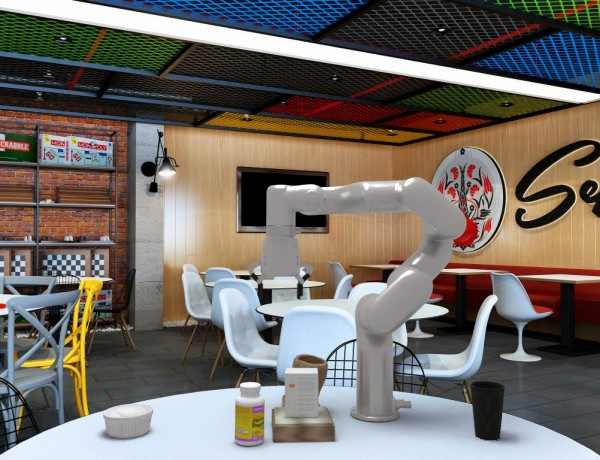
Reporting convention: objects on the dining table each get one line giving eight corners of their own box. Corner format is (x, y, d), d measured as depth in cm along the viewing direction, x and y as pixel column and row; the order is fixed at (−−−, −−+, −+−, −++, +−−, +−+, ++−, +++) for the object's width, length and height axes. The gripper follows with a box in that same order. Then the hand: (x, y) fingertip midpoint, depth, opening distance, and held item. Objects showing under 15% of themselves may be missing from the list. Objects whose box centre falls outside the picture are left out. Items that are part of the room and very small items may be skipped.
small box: (318, 411, 140) (318, 367, 140) (318, 418, 134) (318, 372, 134) (285, 410, 140) (285, 367, 140) (284, 417, 134) (284, 372, 134)
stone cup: (329, 420, 145) (330, 361, 146) (283, 420, 145) (283, 361, 145) (324, 403, 161) (324, 349, 161) (281, 403, 160) (282, 349, 160)
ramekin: (92, 437, 132) (93, 414, 132) (123, 422, 143) (123, 401, 143) (133, 443, 128) (134, 419, 129) (161, 428, 139) (162, 406, 139)
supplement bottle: (252, 449, 125) (253, 389, 125) (228, 443, 128) (229, 385, 129) (270, 440, 131) (270, 383, 131) (246, 434, 134) (247, 379, 134)
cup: (487, 444, 129) (487, 390, 129) (463, 434, 135) (463, 383, 136) (512, 439, 132) (512, 386, 132) (487, 429, 139) (487, 379, 139)
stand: (327, 421, 144) (327, 405, 144) (334, 441, 130) (334, 423, 130) (271, 422, 143) (271, 406, 143) (273, 442, 129) (273, 424, 129)
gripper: (312, 233, 153) (311, 297, 153) (247, 232, 152) (246, 297, 151) (315, 233, 146) (314, 300, 145) (247, 232, 144) (246, 300, 144)
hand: (280, 299), depth 148 cm, fingers open, 9 cm apart
